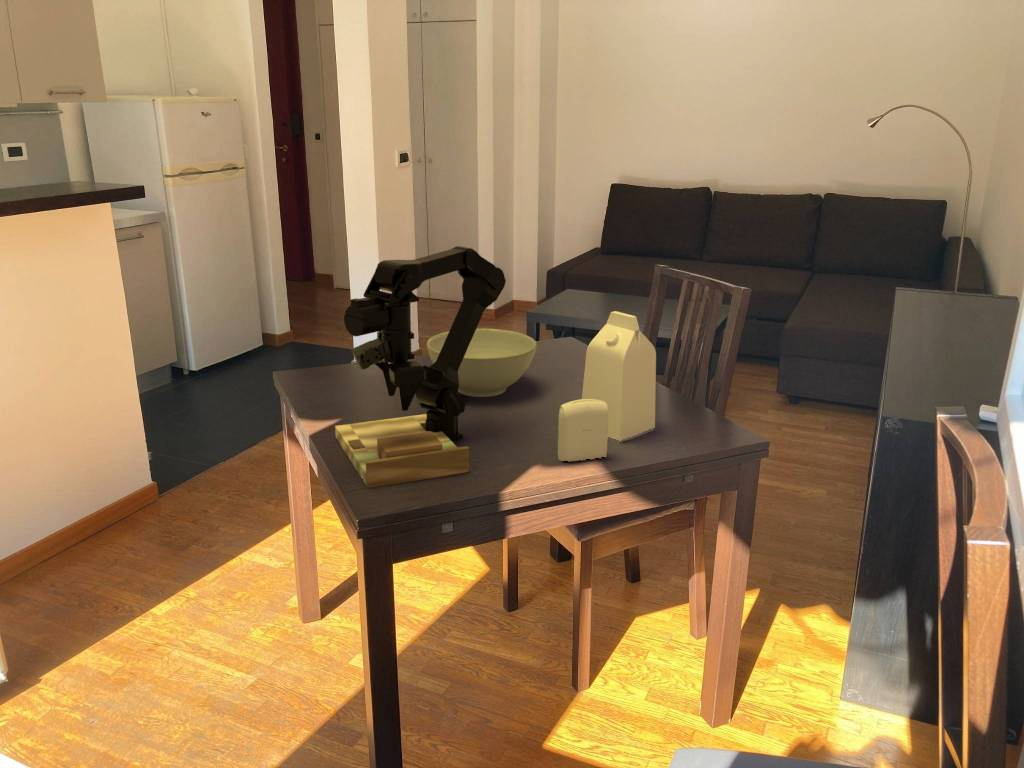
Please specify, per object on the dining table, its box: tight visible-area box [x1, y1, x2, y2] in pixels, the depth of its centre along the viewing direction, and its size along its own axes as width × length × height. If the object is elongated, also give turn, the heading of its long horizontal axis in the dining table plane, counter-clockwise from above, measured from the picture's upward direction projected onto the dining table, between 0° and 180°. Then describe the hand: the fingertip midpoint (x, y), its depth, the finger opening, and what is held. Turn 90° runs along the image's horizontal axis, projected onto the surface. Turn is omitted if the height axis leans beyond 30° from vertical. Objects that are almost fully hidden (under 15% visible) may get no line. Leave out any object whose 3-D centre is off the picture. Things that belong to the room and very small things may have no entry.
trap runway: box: [334, 413, 470, 489], centre depth 174 cm, size 27×20×5 cm
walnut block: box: [377, 432, 443, 459], centre depth 165 cm, size 7×11×4 cm, turn 112°
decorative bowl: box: [426, 328, 538, 398], centre depth 212 cm, size 27×27×12 cm
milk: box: [581, 310, 657, 441], centre depth 185 cm, size 12×12×26 cm
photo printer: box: [557, 398, 609, 462], centre depth 172 cm, size 10×4×12 cm, turn 104°
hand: (397, 402), depth 171 cm, fingers open, 9 cm apart
